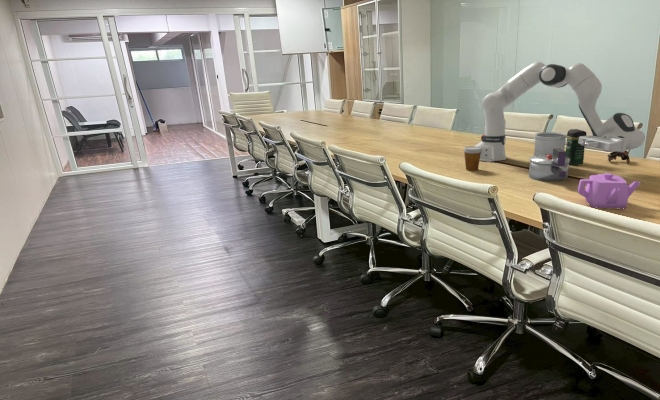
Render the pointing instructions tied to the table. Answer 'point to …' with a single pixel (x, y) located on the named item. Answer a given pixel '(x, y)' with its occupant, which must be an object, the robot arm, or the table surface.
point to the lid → (552, 158)
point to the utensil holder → (548, 142)
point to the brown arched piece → (620, 154)
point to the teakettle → (606, 190)
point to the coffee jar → (575, 147)
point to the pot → (548, 172)
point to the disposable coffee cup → (472, 157)
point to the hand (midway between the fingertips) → (584, 144)
